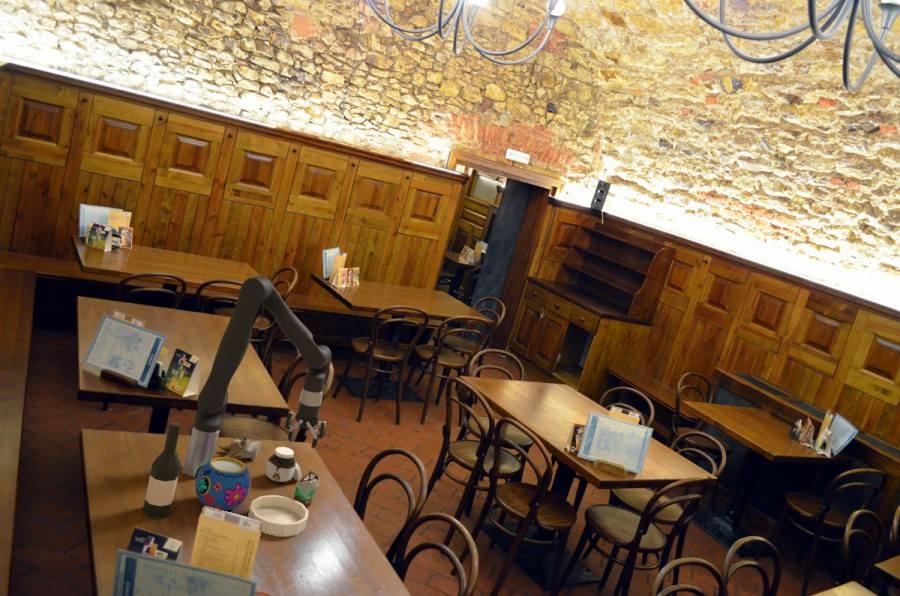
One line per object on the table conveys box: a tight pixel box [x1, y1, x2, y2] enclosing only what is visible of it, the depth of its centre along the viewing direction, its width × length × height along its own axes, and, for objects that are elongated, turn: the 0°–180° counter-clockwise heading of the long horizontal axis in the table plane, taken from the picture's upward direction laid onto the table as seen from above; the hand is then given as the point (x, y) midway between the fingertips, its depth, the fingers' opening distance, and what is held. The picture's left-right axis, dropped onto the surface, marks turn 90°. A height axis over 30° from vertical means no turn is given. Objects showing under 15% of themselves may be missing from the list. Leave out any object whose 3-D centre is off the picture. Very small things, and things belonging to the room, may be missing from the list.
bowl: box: [247, 494, 310, 538], centre depth 243 cm, size 19×19×4 cm
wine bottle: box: [142, 421, 182, 519], centre depth 228 cm, size 8×8×30 cm
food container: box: [293, 470, 320, 508], centre depth 259 cm, size 12×6×10 cm, turn 168°
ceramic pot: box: [194, 456, 252, 511], centre depth 242 cm, size 18×18×15 cm
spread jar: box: [265, 446, 303, 485], centre depth 273 cm, size 12×11×12 cm
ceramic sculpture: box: [218, 437, 263, 461], centre depth 282 cm, size 11×9×15 cm
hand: (302, 444), depth 258 cm, fingers open, 8 cm apart
